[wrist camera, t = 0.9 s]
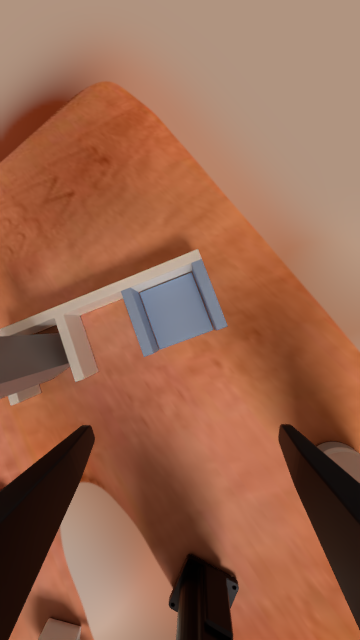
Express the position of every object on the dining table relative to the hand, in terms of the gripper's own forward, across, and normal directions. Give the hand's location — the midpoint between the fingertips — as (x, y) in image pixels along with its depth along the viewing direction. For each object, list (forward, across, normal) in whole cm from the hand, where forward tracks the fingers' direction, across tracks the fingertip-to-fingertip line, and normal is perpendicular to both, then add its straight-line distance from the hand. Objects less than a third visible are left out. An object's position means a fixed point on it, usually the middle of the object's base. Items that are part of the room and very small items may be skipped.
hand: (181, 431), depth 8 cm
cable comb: (+15, +10, 0) cm, 18 cm away
